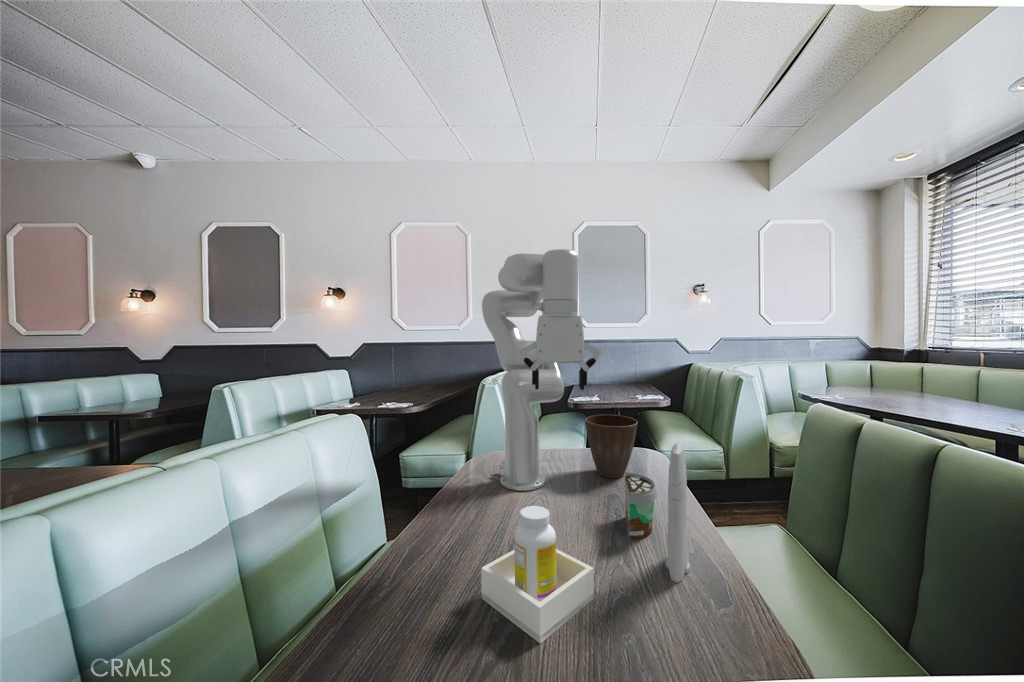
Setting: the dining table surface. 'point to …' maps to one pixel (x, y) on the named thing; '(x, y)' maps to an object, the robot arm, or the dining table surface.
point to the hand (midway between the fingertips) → (559, 388)
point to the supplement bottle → (535, 553)
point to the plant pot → (611, 443)
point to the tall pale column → (677, 516)
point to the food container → (639, 504)
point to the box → (526, 610)
